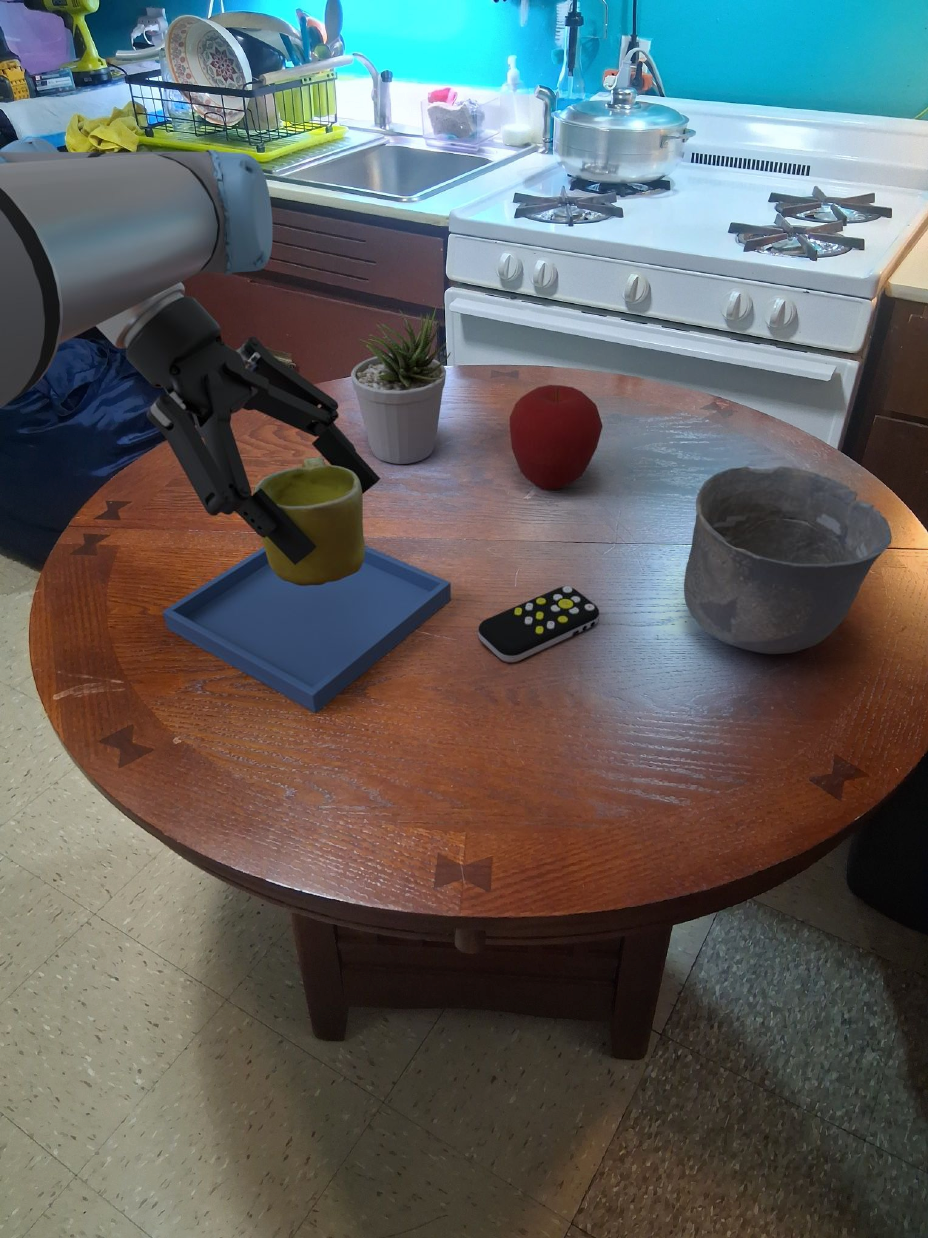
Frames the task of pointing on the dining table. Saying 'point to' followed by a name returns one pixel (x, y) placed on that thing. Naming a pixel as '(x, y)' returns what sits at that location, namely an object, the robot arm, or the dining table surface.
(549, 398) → the apple
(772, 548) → the grey stone bowl
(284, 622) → the blue tray
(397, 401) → the potted plant
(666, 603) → the dining table surface
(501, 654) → the remote control
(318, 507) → the mug
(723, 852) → the dining table surface
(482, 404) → the dining table surface
